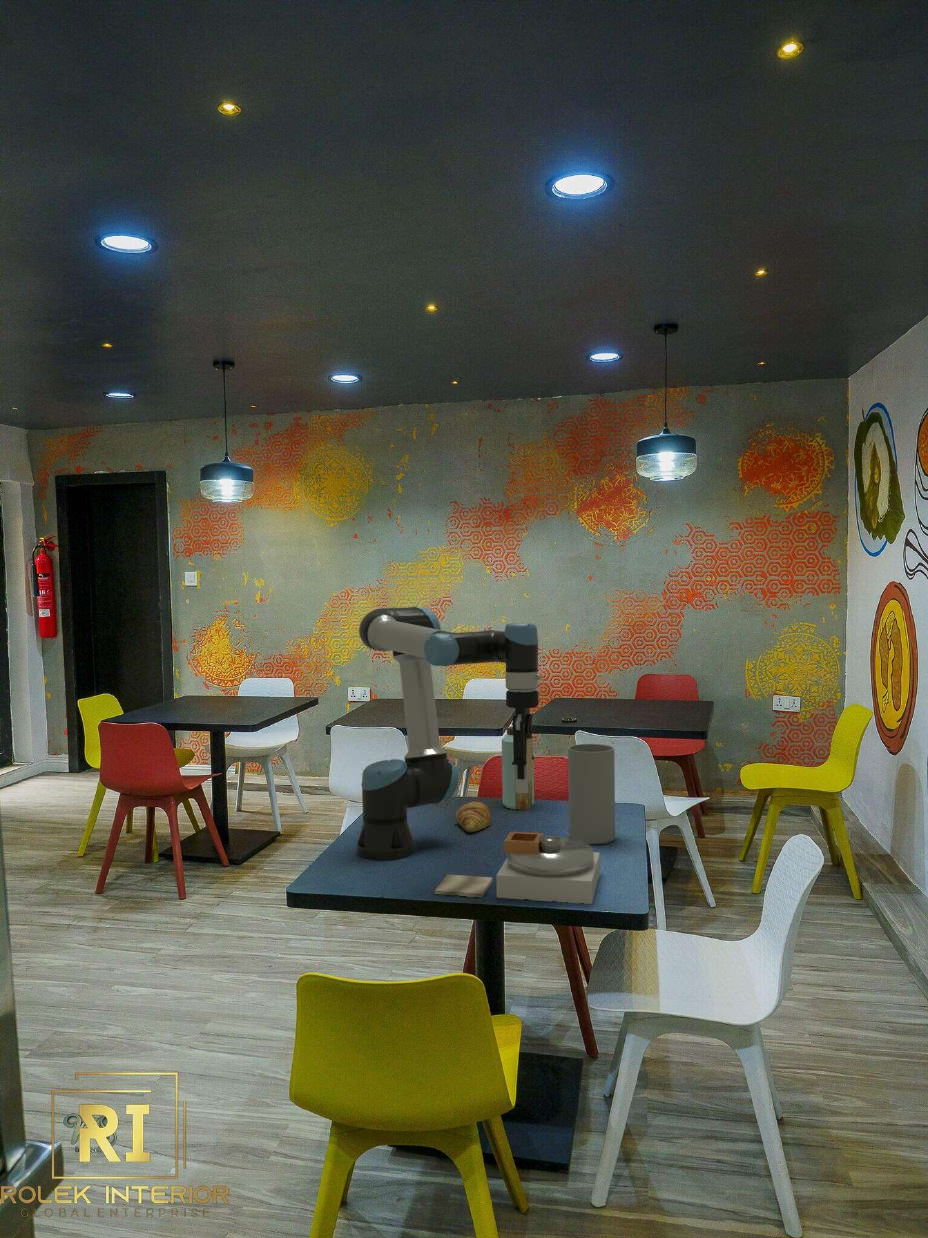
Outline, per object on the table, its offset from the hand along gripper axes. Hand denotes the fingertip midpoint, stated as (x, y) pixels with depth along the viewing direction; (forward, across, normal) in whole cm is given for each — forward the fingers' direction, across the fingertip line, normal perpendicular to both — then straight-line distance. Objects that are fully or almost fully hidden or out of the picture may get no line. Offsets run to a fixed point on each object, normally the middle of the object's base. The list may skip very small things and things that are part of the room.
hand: (523, 790), depth 198 cm
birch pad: (+22, -6, +13) cm, 26 cm away
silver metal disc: (+17, 0, -6) cm, 18 cm away
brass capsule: (+4, 0, 0) cm, 4 cm away
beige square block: (+22, 0, -6) cm, 23 cm away
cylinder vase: (+22, +39, -12) cm, 46 cm away
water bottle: (+22, +70, +14) cm, 75 cm away
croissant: (+22, +47, +23) cm, 57 cm away
